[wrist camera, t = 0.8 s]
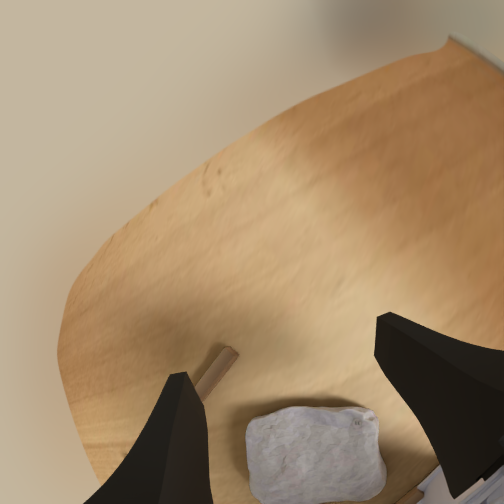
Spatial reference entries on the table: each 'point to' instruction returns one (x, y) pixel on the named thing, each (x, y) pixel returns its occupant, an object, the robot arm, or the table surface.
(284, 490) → the stone block
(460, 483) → the robot arm
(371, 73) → the table surface
